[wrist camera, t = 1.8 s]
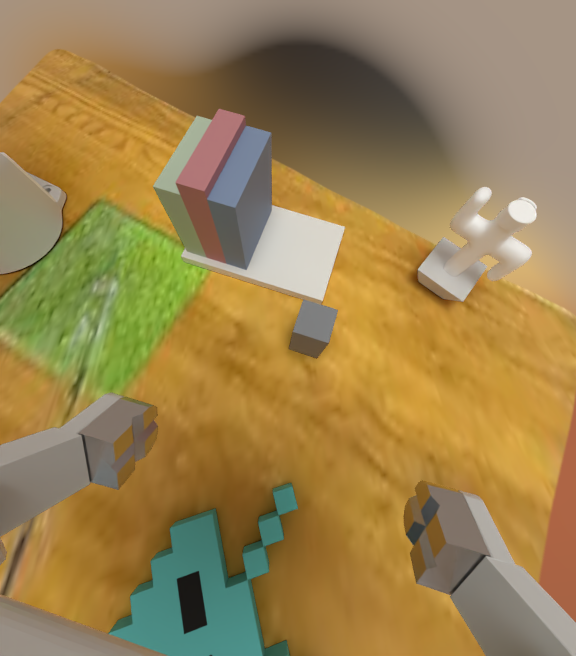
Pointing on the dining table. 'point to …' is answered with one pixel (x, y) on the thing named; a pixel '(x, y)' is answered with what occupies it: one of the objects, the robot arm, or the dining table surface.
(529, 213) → the figurine
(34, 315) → the dining table surface
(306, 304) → the bookend block
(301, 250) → the shelf board
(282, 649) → the alien figure
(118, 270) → the dining table surface
